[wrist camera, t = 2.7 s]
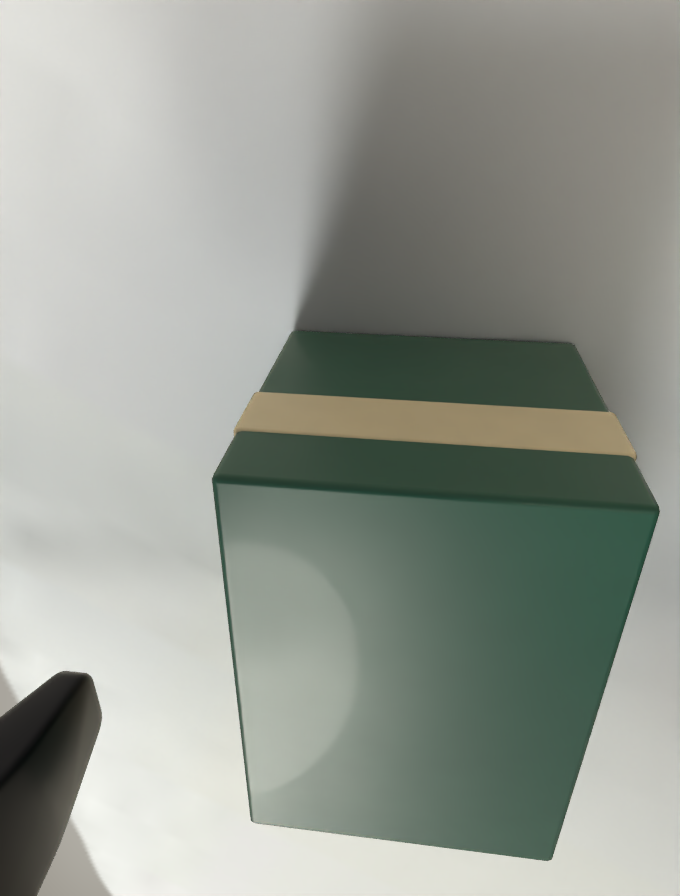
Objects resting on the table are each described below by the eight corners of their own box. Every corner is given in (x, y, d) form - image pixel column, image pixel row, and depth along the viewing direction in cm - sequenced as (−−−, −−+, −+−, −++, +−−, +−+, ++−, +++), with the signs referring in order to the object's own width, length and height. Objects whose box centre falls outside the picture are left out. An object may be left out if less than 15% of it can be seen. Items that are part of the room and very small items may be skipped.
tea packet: (518, 634, 15) (554, 865, 10) (300, 613, 15) (247, 825, 11) (577, 340, 11) (668, 507, 7) (289, 327, 12) (206, 474, 7)
